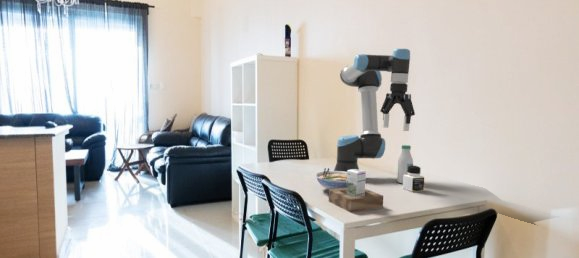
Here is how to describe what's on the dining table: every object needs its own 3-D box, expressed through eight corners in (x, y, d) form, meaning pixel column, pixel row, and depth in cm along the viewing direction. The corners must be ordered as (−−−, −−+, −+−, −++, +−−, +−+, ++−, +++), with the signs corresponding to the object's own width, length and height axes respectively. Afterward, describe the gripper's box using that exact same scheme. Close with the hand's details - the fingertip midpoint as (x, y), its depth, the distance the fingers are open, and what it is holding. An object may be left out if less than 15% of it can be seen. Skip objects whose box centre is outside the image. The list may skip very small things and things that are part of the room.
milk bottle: (400, 184, 188) (402, 146, 187) (394, 181, 196) (396, 144, 194) (414, 184, 189) (416, 146, 188) (408, 181, 197) (409, 144, 195)
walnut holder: (328, 201, 154) (329, 189, 153) (359, 197, 161) (359, 186, 160) (350, 212, 140) (350, 199, 139) (382, 207, 146) (383, 195, 146)
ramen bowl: (362, 199, 158) (363, 181, 157) (310, 195, 163) (311, 177, 162) (362, 186, 182) (363, 170, 182) (317, 183, 187) (318, 167, 186)
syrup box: (365, 205, 150) (366, 170, 148) (355, 207, 146) (356, 172, 145) (354, 201, 154) (356, 168, 153) (345, 203, 151) (346, 169, 149)
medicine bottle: (412, 192, 173) (413, 167, 172) (402, 188, 179) (403, 165, 178) (423, 191, 175) (425, 166, 174) (413, 187, 182) (415, 164, 181)
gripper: (426, 83, 155) (421, 132, 157) (387, 83, 178) (383, 126, 180) (412, 82, 152) (408, 132, 154) (375, 82, 174) (371, 126, 176)
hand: (395, 129), depth 167 cm, fingers open, 13 cm apart
